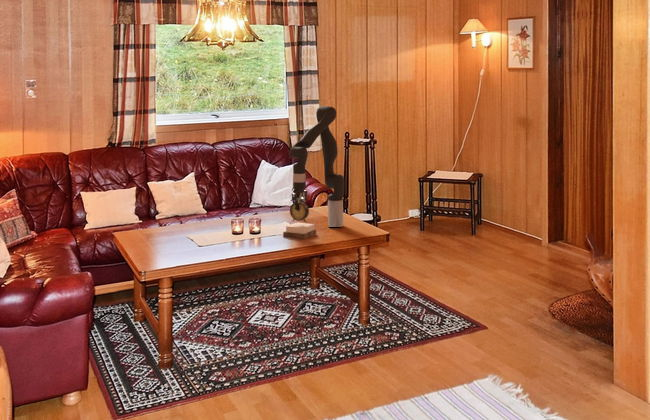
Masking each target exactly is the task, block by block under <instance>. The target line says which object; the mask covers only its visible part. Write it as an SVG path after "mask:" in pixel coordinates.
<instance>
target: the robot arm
mask: <svg viewBox="0 0 650 420" xmlns="http://www.w3.org/2000/svg"><path fill="white" fill-rule="evenodd" d="M315 113H316V115H315V116H316V121H317V123H316V124H315V125H314V126H312V127H311V128H309V129H308V130H307V131H306V132H305V133H304V135H303V136H302V137H301V138H300V140H298V141H297V142H296V143H295V144H294V145H293V146H292V147H291V149H290V151H289V154H290V155H289V156H290V157H291V158H292V159H295V160H296V159H297V162H295V163H293V165H292V173H293V174H292V189H293V190H294V193H291V199H292V204H293V203H294V204H295V210H299V201H300V202H304V203H305V202H306V201H307V198H308V190H306V188H307V177H306V176H307V175H306V165H307V160H308V155H309V153H308V150H307V149H310V148H311V147H312V146H313V144H314V143H315V141H316V140H317V139H318V138H319V136H320V143H321V151H322V156H323V157H322V158H323V165H324V169H323V170H324V171H323V172H324V183H325V187H327V188H328V189H333V191H332V192H333V193H330V194H328V195H327V223H328V224H327V227H328V226H329V227H341V226H343V227H344V202H343V201H344V195H345V178H344V175H342V174H340V173H339V174H338V173H335V172H334V171H335V170H334V164H335V161H336V159H337V157H338V144H337V140H336V138H335V136H334V135H333V133H332V132H331V130H330V125H331V124H332V123H333V122H334V121H335V119H336V117H337V110H336V108H335V107H333V106H327V105H321V106H318V107H317V109H316V112H315ZM301 196H302V199H301ZM297 198H298V199H297ZM300 199H301V200H300ZM329 227H328V228H329Z"/></svg>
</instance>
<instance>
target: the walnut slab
mask: <svg viewBox="0 0 650 420" xmlns="http://www.w3.org/2000/svg"><path fill="white" fill-rule="evenodd" d="M315 234H316V235H317V229H314V230H313V231H310V232H308V233H305V234H300V233H291V232H286V230H285V231H283V233H282V236H283V238H291V239H296V238H298V239H297V240H306V239H309V238H311V237H314V236H316V235H315ZM313 235H314V236H313ZM310 236H311V237H310ZM308 237H309V238H308ZM305 238H306V239H305Z"/></svg>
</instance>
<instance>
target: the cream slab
mask: <svg viewBox="0 0 650 420" xmlns="http://www.w3.org/2000/svg"><path fill="white" fill-rule="evenodd" d="M285 227H286V229H285V231H286V232H291V233H300V234H305V233H308V232H310V231H313V230H315V224H314V223H307V222H299V221H298V222H294V223H291V224H288V225H285Z"/></svg>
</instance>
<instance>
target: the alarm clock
mask: <svg viewBox="0 0 650 420" xmlns="http://www.w3.org/2000/svg"><path fill="white" fill-rule="evenodd" d="M297 199H299V198H297ZM301 199H302V196H301ZM301 199H300V200H301ZM289 214H290V216H291V218H292V222H294V221H298V222H299V221H303V222H304V223H307V221H306V219H307V218H308V216H309V214H310V208H309V206H308V205H307V203H305V202H301V201H299V210H295V204H294V203H293V202H292V204H291V206H290V208H289Z"/></svg>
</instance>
